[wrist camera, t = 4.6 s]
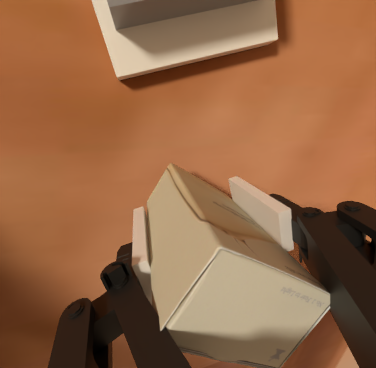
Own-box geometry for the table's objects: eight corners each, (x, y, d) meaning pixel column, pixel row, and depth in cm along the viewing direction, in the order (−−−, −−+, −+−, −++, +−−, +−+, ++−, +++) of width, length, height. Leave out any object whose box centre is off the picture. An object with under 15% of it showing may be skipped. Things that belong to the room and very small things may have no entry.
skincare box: (225, 192, 20) (346, 296, 8) (200, 231, 20) (281, 376, 9) (167, 160, 17) (224, 241, 6) (141, 204, 18) (150, 352, 7)
